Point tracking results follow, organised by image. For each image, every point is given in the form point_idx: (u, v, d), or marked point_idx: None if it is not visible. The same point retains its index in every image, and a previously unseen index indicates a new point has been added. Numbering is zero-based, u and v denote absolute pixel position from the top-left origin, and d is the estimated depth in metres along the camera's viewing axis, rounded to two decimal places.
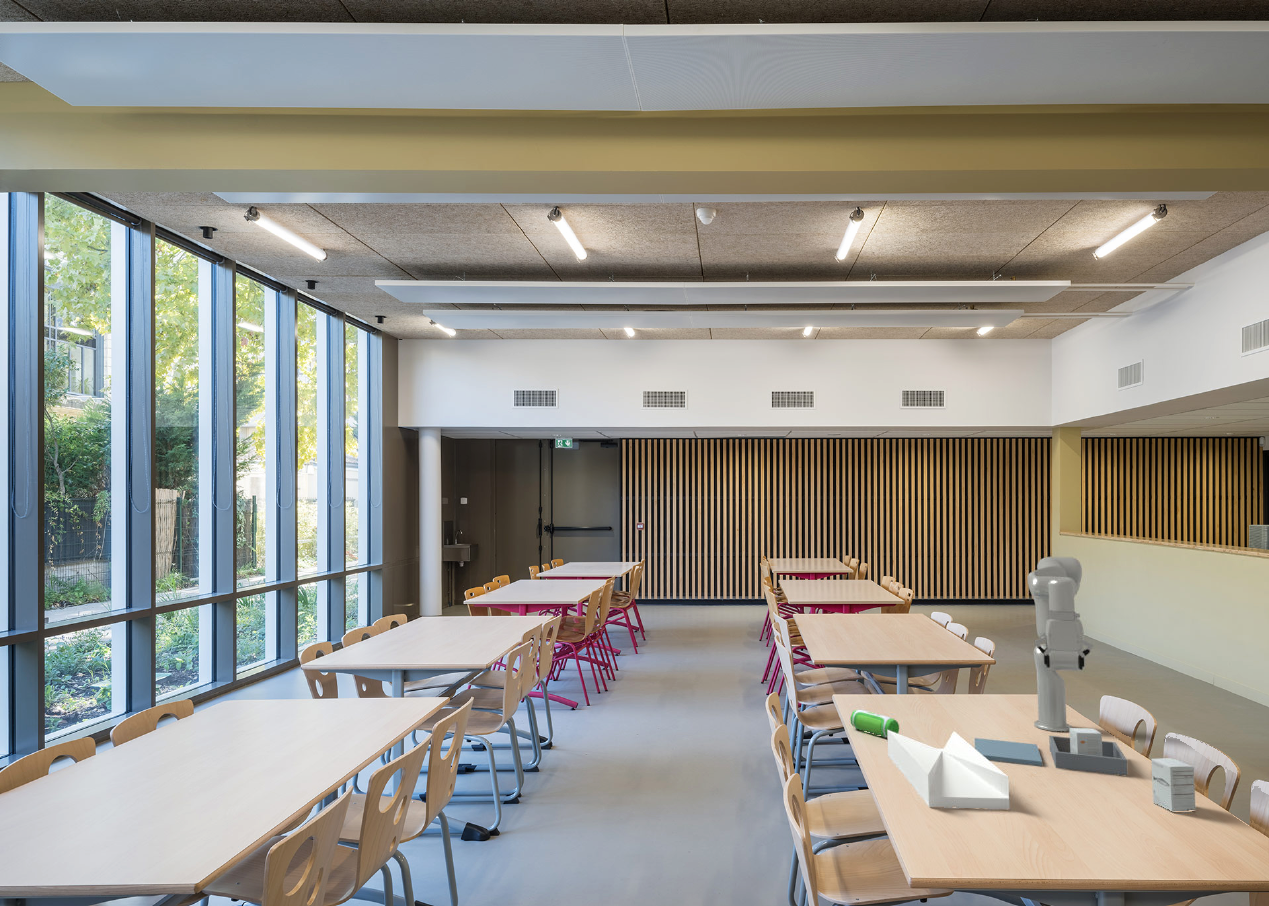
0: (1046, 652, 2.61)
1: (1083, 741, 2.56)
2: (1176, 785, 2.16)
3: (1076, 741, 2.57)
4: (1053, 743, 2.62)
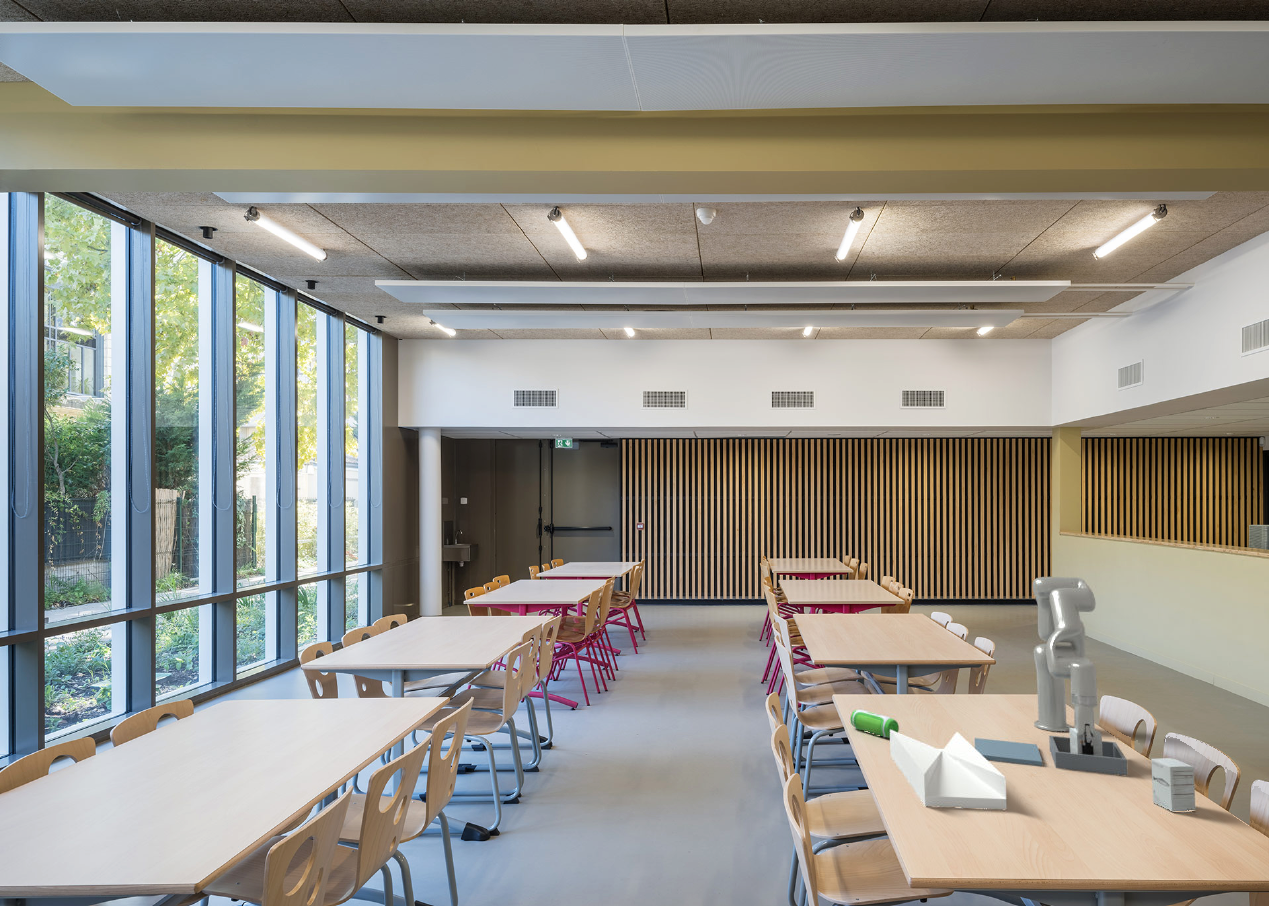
0: None
1: None
2: (1176, 785, 2.16)
3: (1076, 741, 2.57)
4: (1053, 743, 2.62)
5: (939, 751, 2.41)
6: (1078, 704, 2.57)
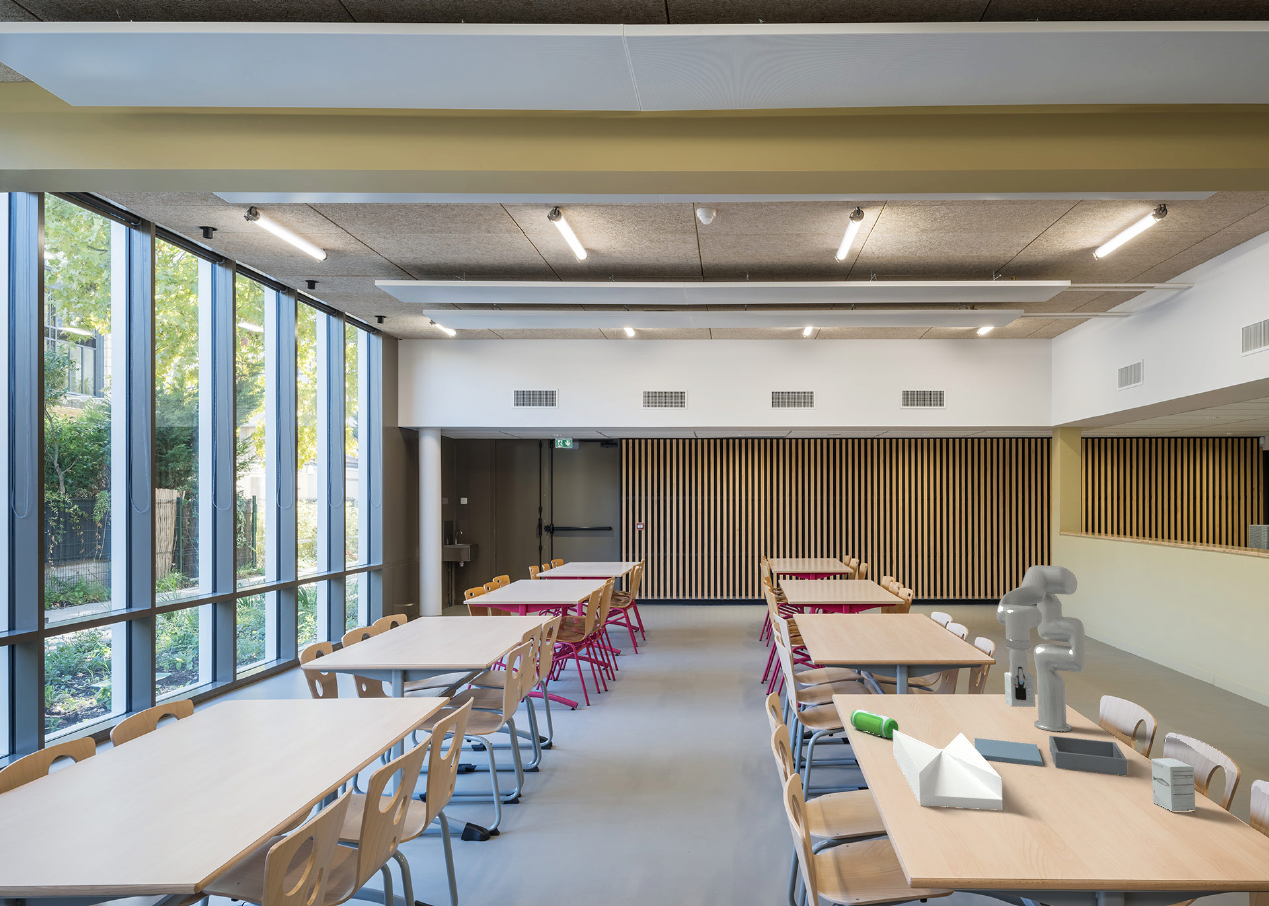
0: None
1: None
2: (1176, 785, 2.16)
3: (1010, 684, 2.65)
4: (1053, 743, 2.62)
5: (939, 751, 2.41)
6: (1012, 648, 2.66)
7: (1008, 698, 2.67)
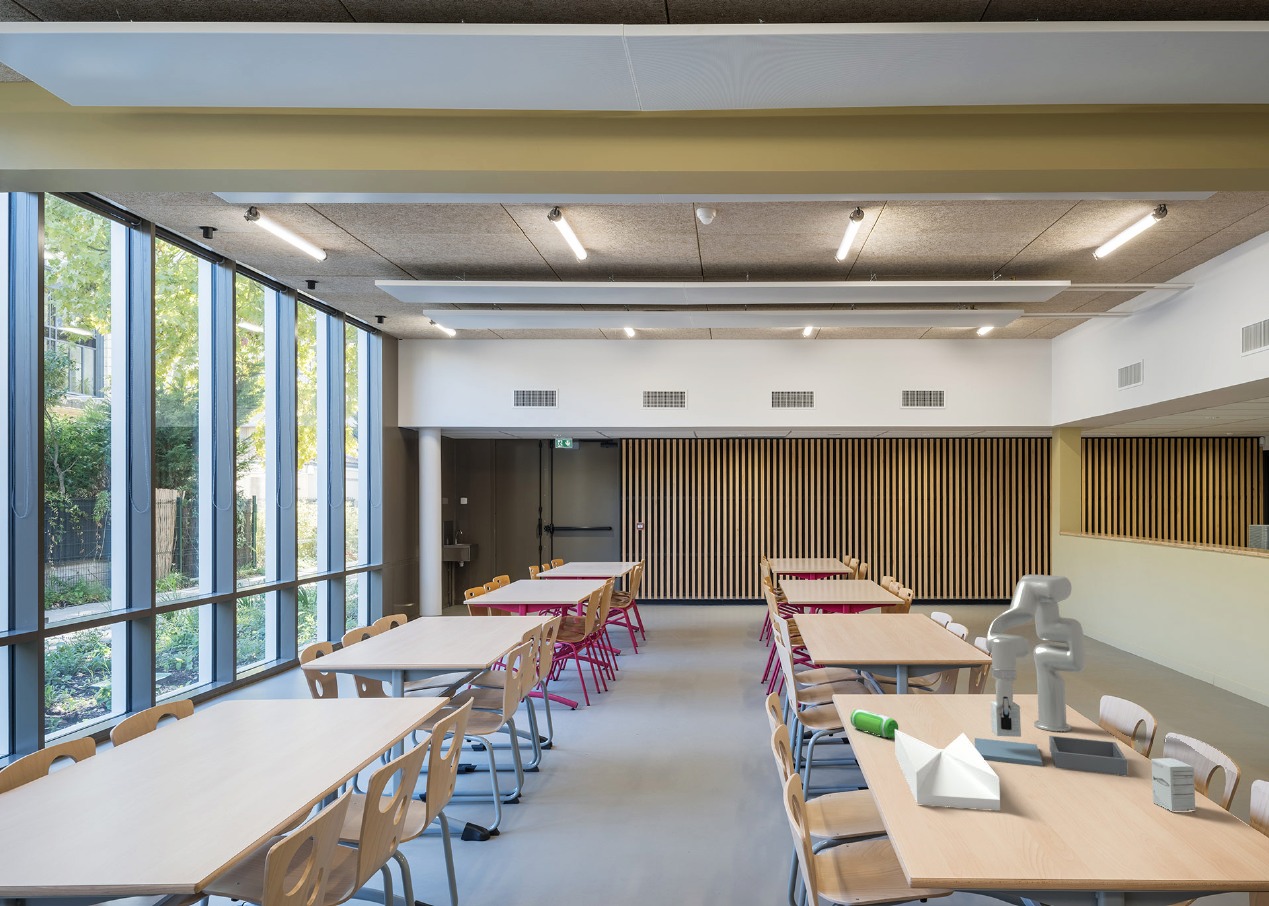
0: None
1: None
2: (1176, 785, 2.16)
3: (995, 713, 2.66)
4: (1053, 743, 2.62)
5: (938, 751, 2.41)
6: (998, 678, 2.67)
7: (994, 727, 2.68)
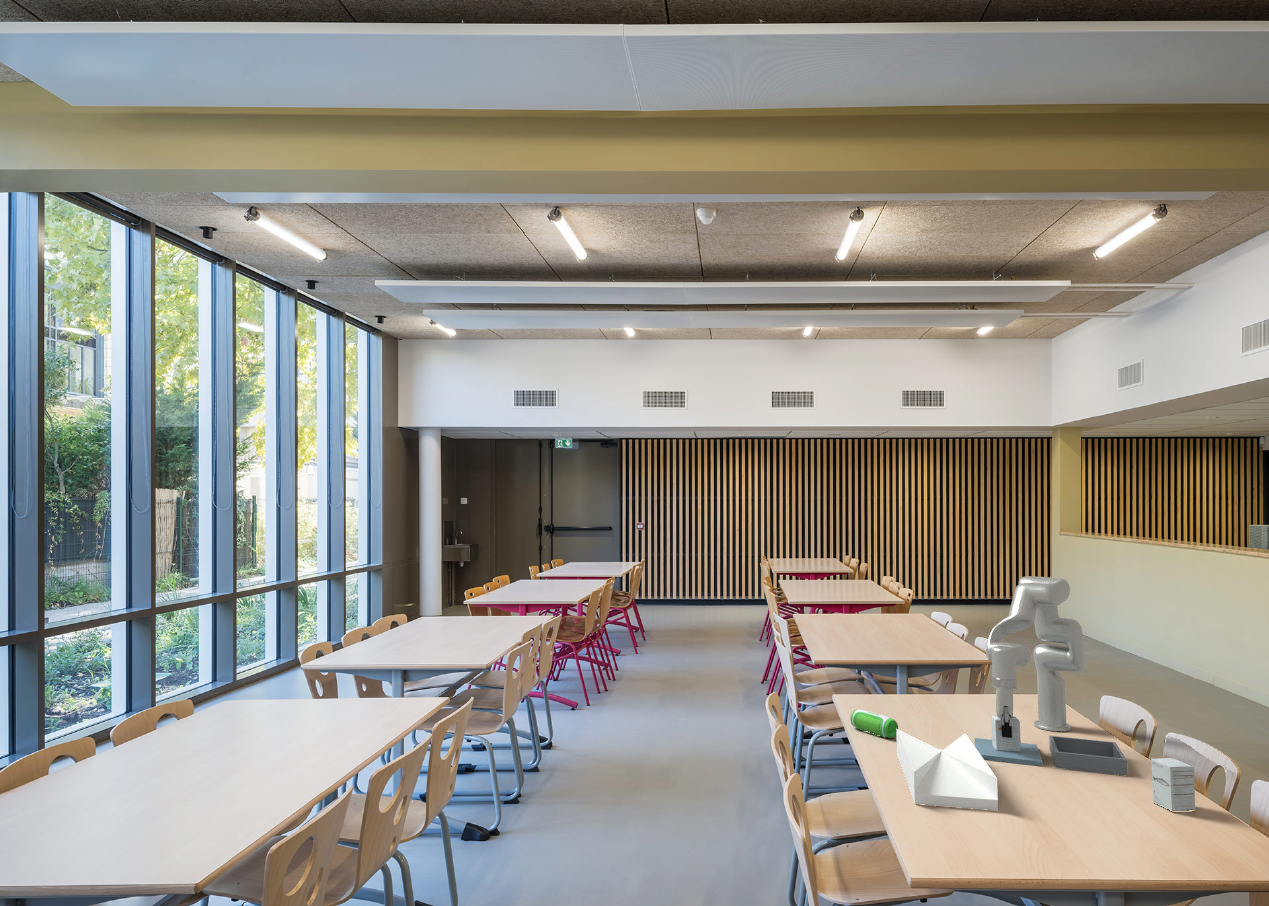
0: (1010, 722, 2.63)
1: None
2: (1176, 785, 2.16)
3: (995, 728, 2.67)
4: (1053, 743, 2.62)
5: (938, 751, 2.41)
6: (998, 687, 2.67)
7: (994, 741, 2.68)
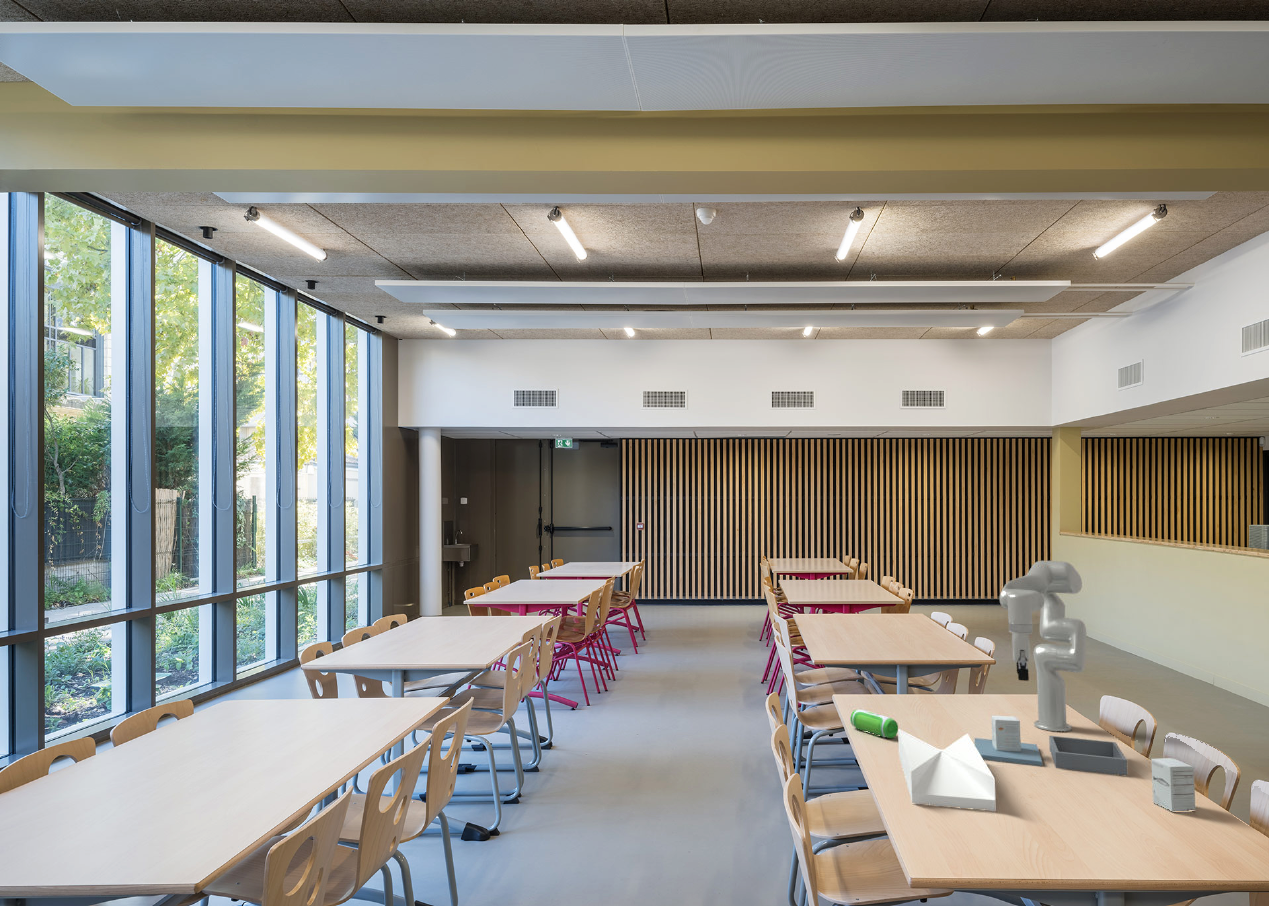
0: None
1: (1001, 728, 2.66)
2: (1176, 785, 2.16)
3: (995, 728, 2.67)
4: (1053, 743, 2.62)
5: (938, 751, 2.41)
6: (1014, 632, 2.72)
7: (994, 741, 2.68)
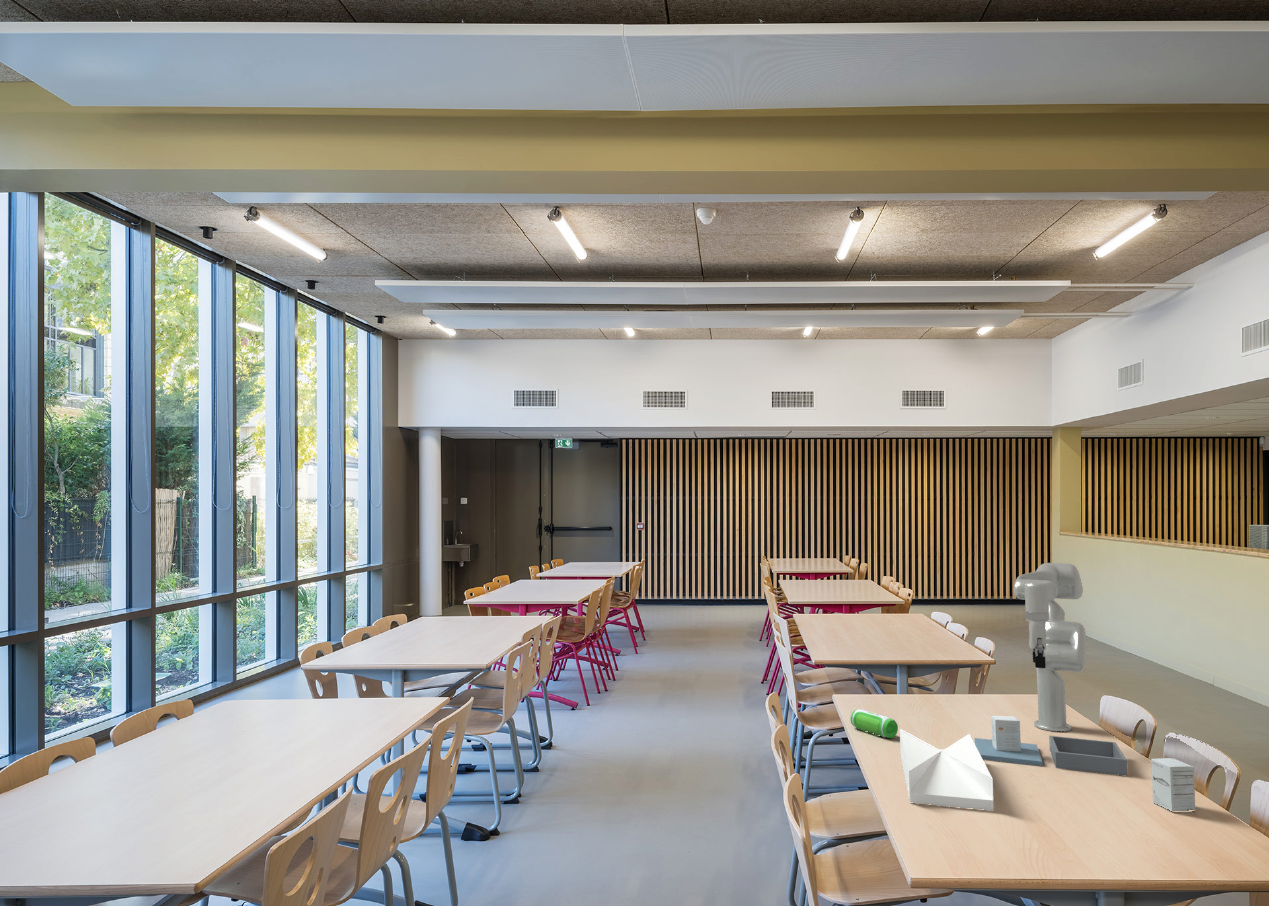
0: (1044, 653, 2.72)
1: (1001, 728, 2.66)
2: (1176, 785, 2.16)
3: (995, 728, 2.67)
4: (1053, 743, 2.62)
5: (938, 751, 2.41)
6: (1031, 620, 2.76)
7: (994, 741, 2.68)
